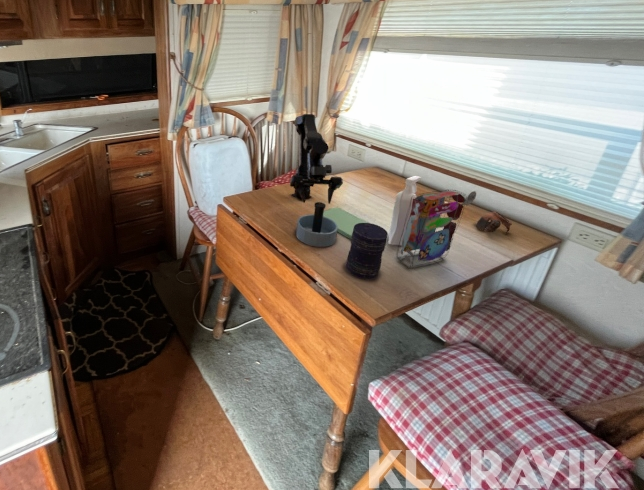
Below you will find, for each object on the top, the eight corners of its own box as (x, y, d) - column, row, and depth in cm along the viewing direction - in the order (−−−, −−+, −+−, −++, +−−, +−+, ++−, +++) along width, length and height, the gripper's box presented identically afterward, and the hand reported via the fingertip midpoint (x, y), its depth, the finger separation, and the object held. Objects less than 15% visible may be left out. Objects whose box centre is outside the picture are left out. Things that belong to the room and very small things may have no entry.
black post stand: (298, 232, 136) (302, 202, 131) (314, 226, 140) (319, 197, 135) (316, 244, 129) (321, 212, 124) (333, 237, 133) (338, 206, 128)
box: (449, 246, 128) (469, 184, 119) (466, 255, 123) (488, 191, 113) (394, 259, 121) (411, 194, 112) (409, 270, 116) (428, 203, 106)
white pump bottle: (378, 243, 130) (392, 180, 121) (394, 232, 137) (409, 172, 127) (396, 251, 125) (413, 187, 116) (413, 240, 132) (430, 178, 122)
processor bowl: (288, 232, 138) (289, 220, 135) (315, 223, 144) (316, 211, 142) (315, 251, 126) (317, 238, 124) (343, 240, 132) (346, 227, 130)
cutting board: (313, 217, 148) (313, 214, 148) (336, 209, 154) (337, 206, 154) (353, 240, 132) (354, 237, 131) (378, 231, 138) (378, 227, 137)
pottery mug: (473, 221, 145) (490, 207, 141) (496, 238, 141) (514, 224, 137) (474, 227, 135) (492, 211, 132) (498, 245, 131) (518, 229, 128)
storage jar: (355, 257, 123) (365, 211, 116) (384, 271, 115) (396, 223, 108) (339, 268, 117) (348, 220, 110) (368, 284, 110) (380, 234, 103)
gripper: (294, 155, 134) (295, 194, 128) (345, 157, 132) (349, 197, 126) (289, 167, 145) (290, 204, 139) (337, 169, 142) (340, 206, 137)
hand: (316, 202), depth 135 cm, fingers open, 9 cm apart
